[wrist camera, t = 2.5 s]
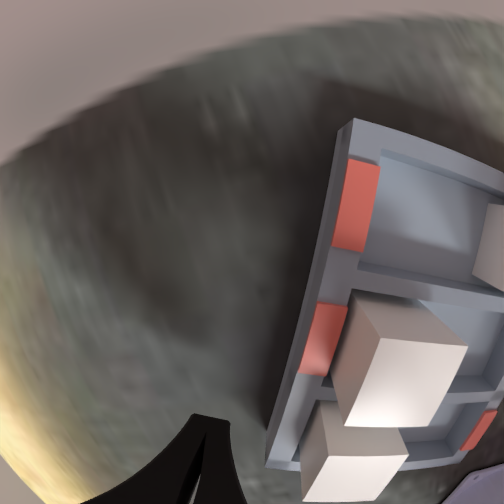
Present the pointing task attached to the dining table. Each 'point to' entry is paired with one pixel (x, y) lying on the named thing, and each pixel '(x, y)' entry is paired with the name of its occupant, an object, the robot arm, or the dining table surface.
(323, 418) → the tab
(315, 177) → the dining table surface
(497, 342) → the switch bank
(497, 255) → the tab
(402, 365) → the tab mid
